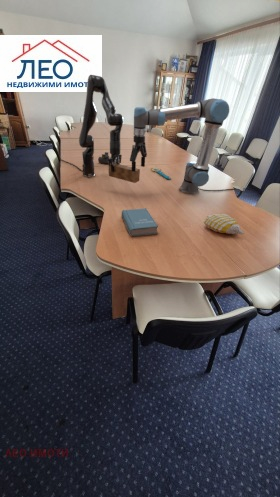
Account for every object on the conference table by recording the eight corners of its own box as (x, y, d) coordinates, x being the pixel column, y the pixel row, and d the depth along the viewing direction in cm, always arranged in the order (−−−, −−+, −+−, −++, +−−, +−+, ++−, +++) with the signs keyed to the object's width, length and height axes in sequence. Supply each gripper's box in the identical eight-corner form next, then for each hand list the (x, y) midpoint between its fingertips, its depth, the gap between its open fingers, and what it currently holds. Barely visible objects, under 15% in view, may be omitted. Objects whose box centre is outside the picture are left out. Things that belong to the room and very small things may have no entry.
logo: (149, 168, 227) (150, 167, 227) (158, 168, 230) (158, 167, 229) (161, 179, 202) (161, 179, 201) (171, 179, 204) (171, 178, 204)
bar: (108, 176, 167) (108, 164, 162) (113, 174, 172) (113, 162, 167) (135, 183, 159) (135, 171, 154) (139, 180, 163) (140, 169, 158)
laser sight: (117, 166, 227) (117, 156, 221) (96, 163, 230) (96, 153, 224) (120, 163, 234) (120, 154, 229) (100, 161, 237) (99, 151, 231)
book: (157, 233, 128) (158, 226, 125) (130, 236, 123) (130, 229, 120) (145, 215, 145) (146, 208, 142) (121, 217, 141) (121, 210, 138)
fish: (254, 225, 128) (232, 232, 118) (249, 236, 132) (228, 244, 123) (221, 208, 144) (199, 213, 134) (217, 218, 149) (196, 224, 139)
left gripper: (116, 144, 162) (116, 167, 172) (104, 147, 152) (105, 171, 162) (125, 145, 159) (124, 169, 169) (113, 149, 149) (113, 174, 159)
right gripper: (135, 139, 133) (134, 174, 145) (152, 133, 150) (150, 165, 163) (124, 137, 135) (124, 172, 148) (143, 132, 153) (141, 163, 166)
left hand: (115, 170), depth 166 cm, fingers closed on bar, 6 cm apart
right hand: (138, 168), depth 156 cm, fingers open, 13 cm apart
